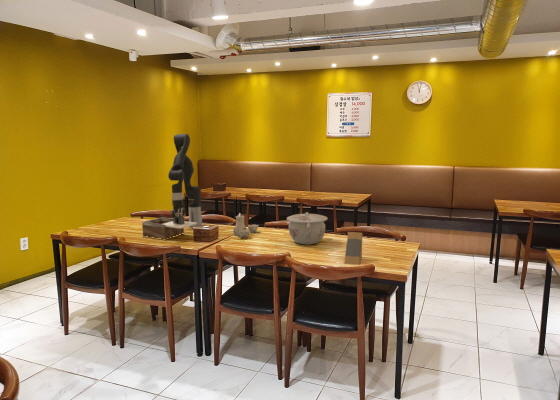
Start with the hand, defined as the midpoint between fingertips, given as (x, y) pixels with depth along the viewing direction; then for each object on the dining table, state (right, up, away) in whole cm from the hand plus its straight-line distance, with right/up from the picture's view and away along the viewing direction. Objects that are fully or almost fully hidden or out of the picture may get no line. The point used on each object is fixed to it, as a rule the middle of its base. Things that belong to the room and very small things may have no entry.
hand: (178, 222), depth 292 cm
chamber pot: (+90, -13, -15) cm, 92 cm away
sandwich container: (+114, -19, -57) cm, 128 cm away
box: (-13, -10, +10) cm, 19 cm away
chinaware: (+46, -10, +9) cm, 48 cm away
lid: (0, -2, 0) cm, 2 cm away
